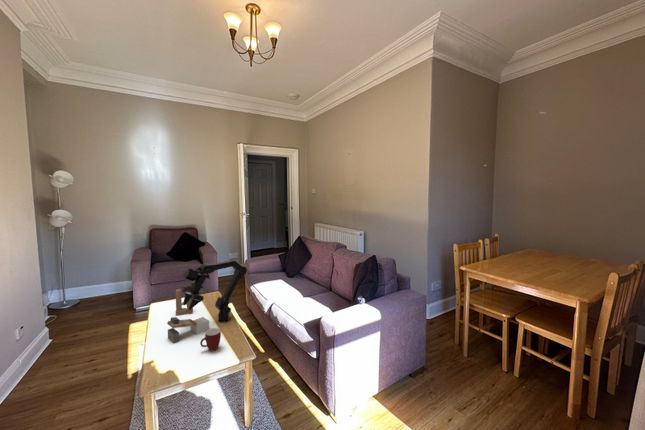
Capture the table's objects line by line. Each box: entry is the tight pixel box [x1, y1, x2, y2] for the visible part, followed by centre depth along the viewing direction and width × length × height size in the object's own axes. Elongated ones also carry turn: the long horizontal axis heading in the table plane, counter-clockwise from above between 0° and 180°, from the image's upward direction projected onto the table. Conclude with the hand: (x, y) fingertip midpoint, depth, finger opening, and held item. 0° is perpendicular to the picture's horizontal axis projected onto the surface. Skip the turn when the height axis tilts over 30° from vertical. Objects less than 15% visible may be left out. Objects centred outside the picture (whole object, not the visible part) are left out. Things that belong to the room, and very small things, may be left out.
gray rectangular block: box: [167, 316, 210, 344], centre depth 165 cm, size 22×8×6 cm, turn 141°
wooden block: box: [175, 288, 194, 317], centre depth 192 cm, size 4×11×18 cm, turn 111°
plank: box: [166, 316, 197, 329], centre depth 162 cm, size 14×8×4 cm, turn 141°
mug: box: [199, 327, 222, 352], centre depth 148 cm, size 10×8×10 cm
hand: (186, 307), depth 165 cm, fingers open, 9 cm apart
